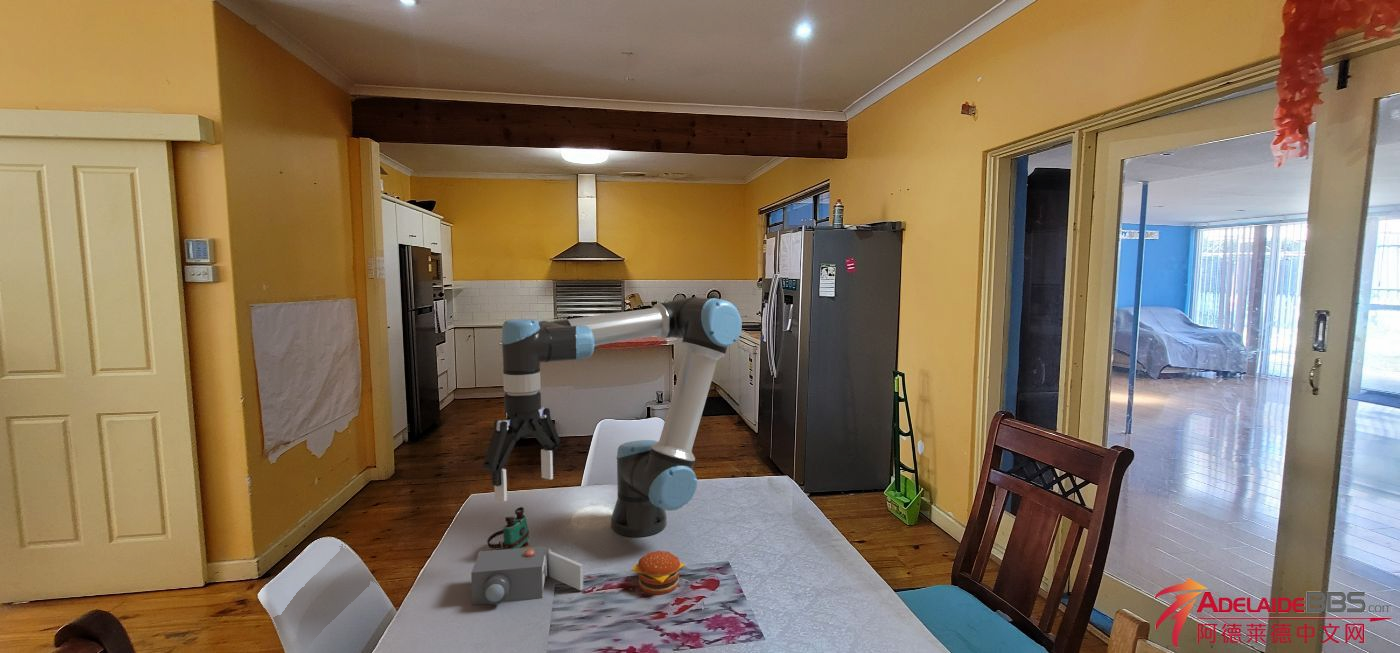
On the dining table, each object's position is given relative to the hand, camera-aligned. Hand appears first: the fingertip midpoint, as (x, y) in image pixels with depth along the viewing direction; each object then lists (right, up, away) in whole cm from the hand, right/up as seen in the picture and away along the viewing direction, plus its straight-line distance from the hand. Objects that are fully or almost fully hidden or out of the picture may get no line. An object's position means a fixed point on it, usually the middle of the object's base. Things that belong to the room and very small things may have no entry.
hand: (525, 488), depth 121 cm
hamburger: (+29, -22, +4) cm, 37 cm away
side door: (+8, -22, +3) cm, 23 cm away
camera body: (-3, -22, -1) cm, 22 cm away
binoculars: (-9, -21, +17) cm, 28 cm away
